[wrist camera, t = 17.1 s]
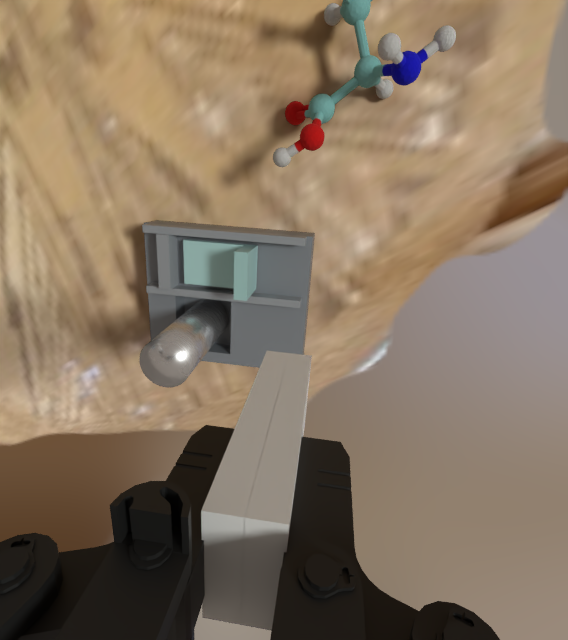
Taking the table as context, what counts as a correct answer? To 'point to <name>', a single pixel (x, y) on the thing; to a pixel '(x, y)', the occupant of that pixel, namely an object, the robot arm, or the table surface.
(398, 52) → the molecular model
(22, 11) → the table surface
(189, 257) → the lid
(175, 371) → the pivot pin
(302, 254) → the housing
